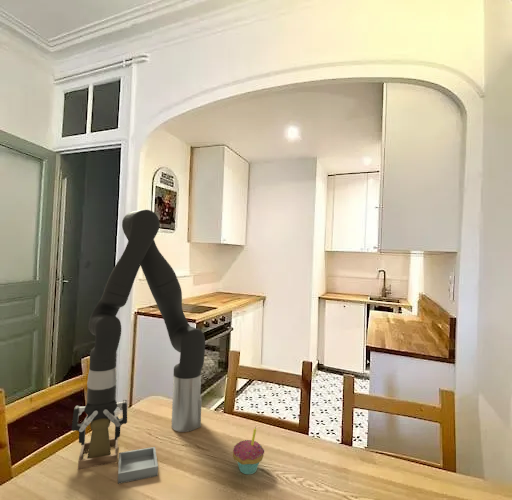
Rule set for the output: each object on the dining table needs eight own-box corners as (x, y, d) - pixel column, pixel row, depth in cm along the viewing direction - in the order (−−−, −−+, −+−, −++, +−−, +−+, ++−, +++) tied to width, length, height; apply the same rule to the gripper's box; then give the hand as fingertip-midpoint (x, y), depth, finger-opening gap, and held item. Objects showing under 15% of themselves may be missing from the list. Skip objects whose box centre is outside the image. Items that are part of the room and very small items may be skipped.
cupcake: (267, 464, 94) (268, 420, 94) (257, 482, 86) (258, 435, 86) (238, 457, 97) (240, 415, 97) (226, 474, 89) (228, 428, 89)
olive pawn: (101, 463, 92) (103, 423, 92) (82, 460, 93) (84, 420, 93) (115, 451, 98) (116, 413, 98) (96, 448, 99) (98, 410, 99)
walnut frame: (117, 444, 102) (118, 437, 102) (116, 462, 93) (117, 454, 93) (82, 449, 98) (82, 442, 98) (77, 469, 89) (78, 461, 89)
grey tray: (154, 455, 96) (155, 446, 96) (157, 476, 87) (158, 466, 88) (118, 461, 93) (118, 452, 93) (117, 483, 84) (118, 473, 84)
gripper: (128, 376, 102) (126, 430, 102) (75, 381, 97) (73, 438, 96) (128, 385, 95) (126, 443, 95) (72, 391, 90) (69, 452, 89)
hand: (99, 441), depth 96 cm, fingers open, 8 cm apart
